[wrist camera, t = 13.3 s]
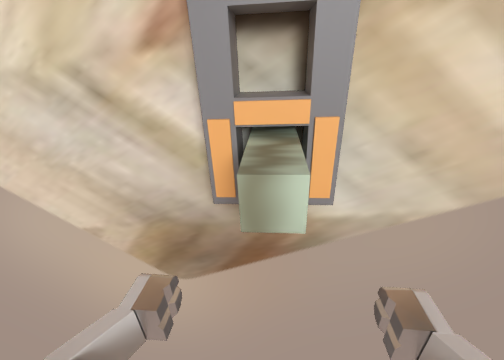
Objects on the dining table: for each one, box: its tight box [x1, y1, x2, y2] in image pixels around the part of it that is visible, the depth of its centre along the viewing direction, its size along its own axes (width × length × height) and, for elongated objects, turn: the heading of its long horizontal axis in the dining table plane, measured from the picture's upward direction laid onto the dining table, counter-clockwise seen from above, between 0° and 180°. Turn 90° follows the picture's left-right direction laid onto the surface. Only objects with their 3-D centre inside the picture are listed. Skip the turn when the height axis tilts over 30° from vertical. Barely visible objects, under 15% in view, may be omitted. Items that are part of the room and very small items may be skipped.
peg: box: [237, 126, 310, 234], centre depth 21 cm, size 4×4×12 cm
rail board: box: [187, 0, 361, 205], centre depth 20 cm, size 12×28×4 cm, turn 2°
